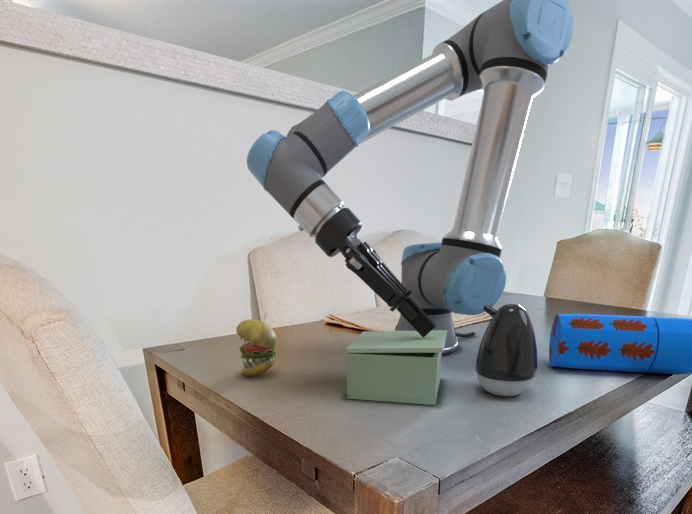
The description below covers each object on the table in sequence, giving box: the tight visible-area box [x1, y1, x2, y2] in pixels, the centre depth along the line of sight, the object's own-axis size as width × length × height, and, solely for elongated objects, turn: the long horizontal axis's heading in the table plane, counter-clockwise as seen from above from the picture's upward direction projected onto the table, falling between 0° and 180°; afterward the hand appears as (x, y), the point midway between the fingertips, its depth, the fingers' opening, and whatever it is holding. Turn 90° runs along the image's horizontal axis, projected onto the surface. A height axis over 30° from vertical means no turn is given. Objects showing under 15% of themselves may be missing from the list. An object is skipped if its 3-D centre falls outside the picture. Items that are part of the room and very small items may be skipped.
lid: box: [345, 330, 447, 354], centre depth 78 cm, size 15×13×1 cm
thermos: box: [548, 313, 692, 375], centre depth 91 cm, size 11×11×25 cm
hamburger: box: [235, 311, 278, 377], centre depth 86 cm, size 8×7×12 cm
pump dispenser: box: [474, 303, 538, 397], centre depth 78 cm, size 10×10×15 cm
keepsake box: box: [345, 353, 443, 406], centre depth 80 cm, size 15×13×8 cm
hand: (429, 331), depth 76 cm, fingers closed
